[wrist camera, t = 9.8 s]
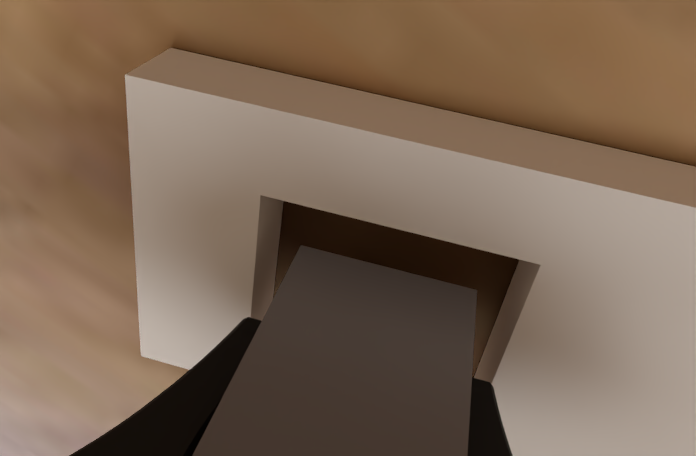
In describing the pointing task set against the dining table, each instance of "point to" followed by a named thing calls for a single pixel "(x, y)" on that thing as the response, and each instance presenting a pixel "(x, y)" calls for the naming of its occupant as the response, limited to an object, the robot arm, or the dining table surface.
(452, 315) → the block
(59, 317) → the dining table surface
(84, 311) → the dining table surface
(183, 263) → the notched board
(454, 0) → the dining table surface
